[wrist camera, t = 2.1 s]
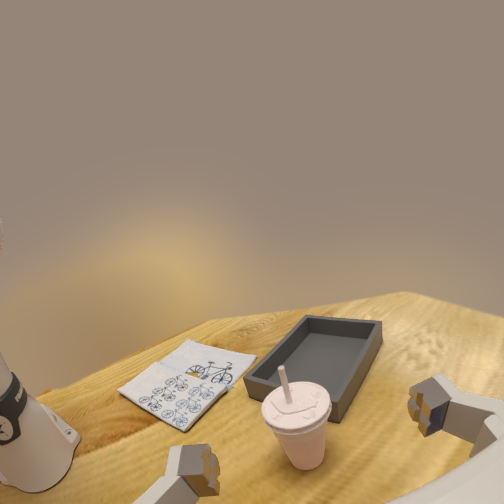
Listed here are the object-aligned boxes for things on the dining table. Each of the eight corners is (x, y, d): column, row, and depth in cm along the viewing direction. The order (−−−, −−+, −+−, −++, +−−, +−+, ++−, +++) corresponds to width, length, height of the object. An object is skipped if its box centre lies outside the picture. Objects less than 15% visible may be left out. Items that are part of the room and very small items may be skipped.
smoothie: (288, 434, 30) (264, 345, 27) (341, 437, 28) (332, 344, 24) (271, 475, 25) (236, 390, 21) (329, 482, 22) (317, 396, 19)
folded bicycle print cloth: (118, 395, 45) (113, 386, 44) (191, 342, 60) (188, 333, 59) (186, 438, 33) (180, 429, 33) (266, 359, 48) (263, 349, 48)
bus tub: (249, 397, 39) (242, 377, 38) (308, 333, 52) (305, 314, 51) (339, 423, 30) (337, 402, 29) (382, 341, 43) (381, 321, 42)
